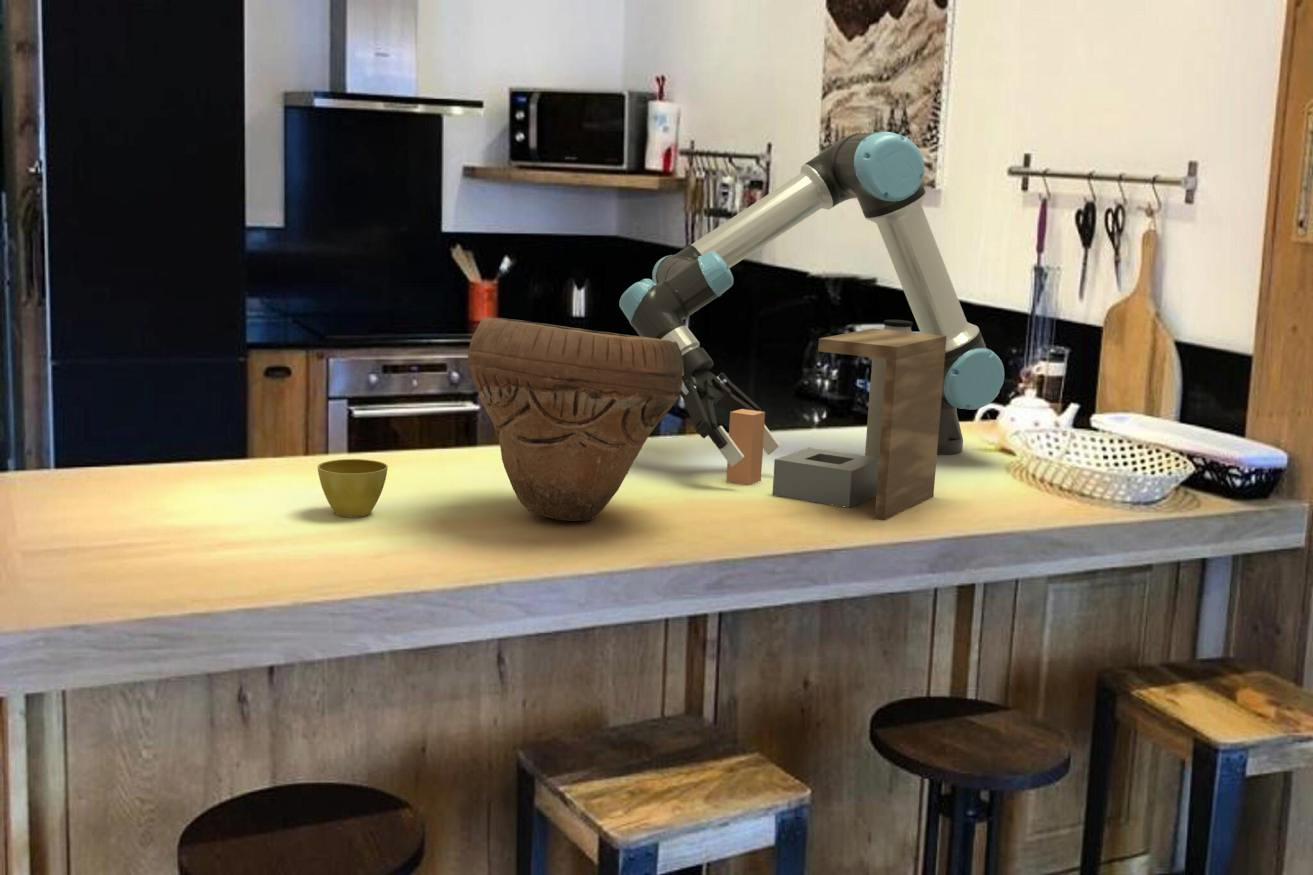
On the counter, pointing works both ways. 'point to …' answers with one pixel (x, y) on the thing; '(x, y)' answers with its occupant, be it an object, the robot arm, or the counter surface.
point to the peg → (747, 445)
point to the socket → (826, 477)
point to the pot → (571, 407)
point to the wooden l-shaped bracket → (903, 411)
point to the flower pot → (352, 485)
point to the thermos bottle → (879, 393)
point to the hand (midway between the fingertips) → (756, 456)
